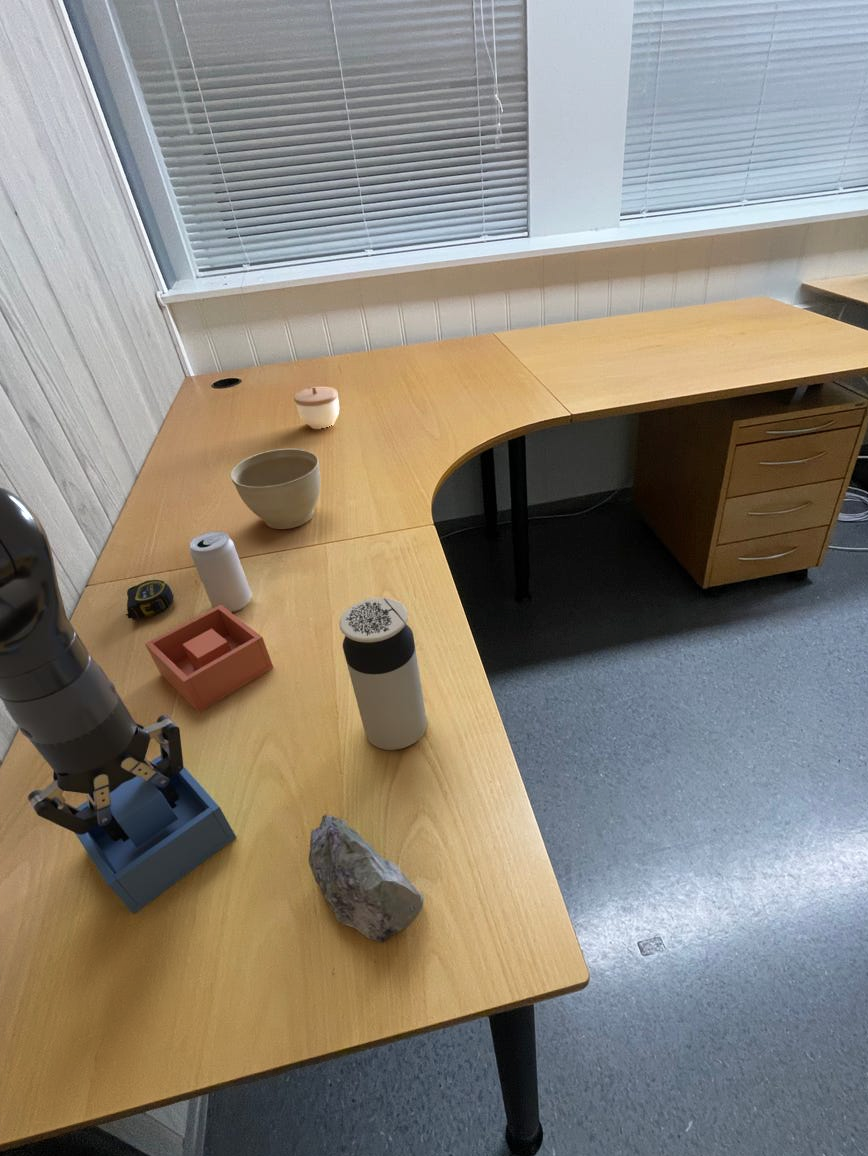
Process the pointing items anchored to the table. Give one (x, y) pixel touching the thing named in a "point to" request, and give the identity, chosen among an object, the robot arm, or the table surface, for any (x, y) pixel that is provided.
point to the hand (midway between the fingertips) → (147, 818)
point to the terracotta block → (206, 648)
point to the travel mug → (384, 672)
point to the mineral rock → (361, 882)
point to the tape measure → (148, 599)
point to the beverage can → (220, 570)
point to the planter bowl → (279, 486)
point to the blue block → (140, 810)
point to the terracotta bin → (219, 674)
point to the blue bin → (161, 846)
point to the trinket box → (318, 406)
